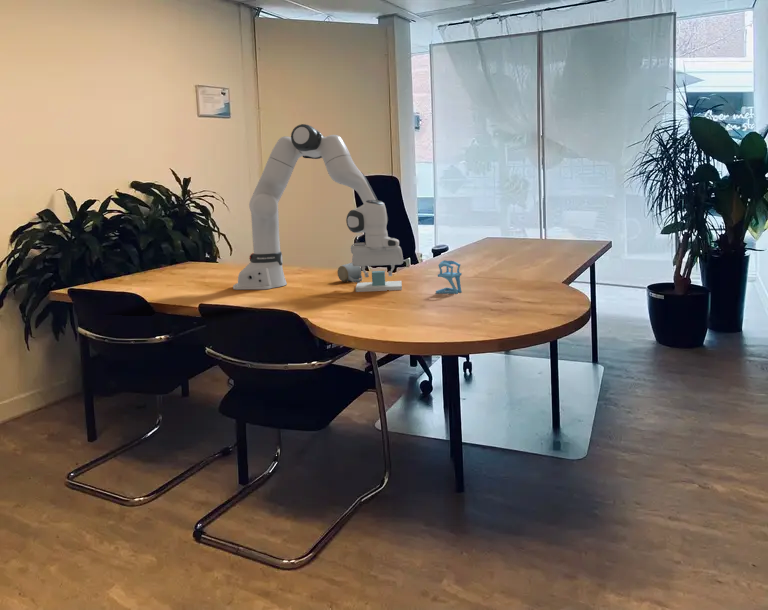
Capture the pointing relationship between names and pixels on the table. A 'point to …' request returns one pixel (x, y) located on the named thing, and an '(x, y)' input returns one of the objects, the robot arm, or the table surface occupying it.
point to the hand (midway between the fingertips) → (378, 276)
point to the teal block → (378, 278)
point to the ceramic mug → (349, 273)
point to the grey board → (388, 286)
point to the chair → (450, 277)
